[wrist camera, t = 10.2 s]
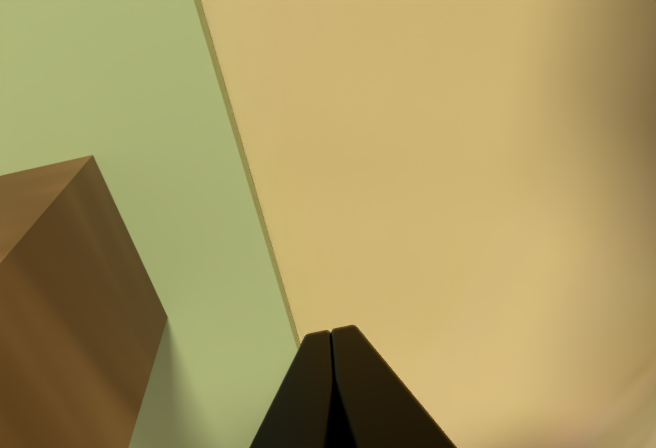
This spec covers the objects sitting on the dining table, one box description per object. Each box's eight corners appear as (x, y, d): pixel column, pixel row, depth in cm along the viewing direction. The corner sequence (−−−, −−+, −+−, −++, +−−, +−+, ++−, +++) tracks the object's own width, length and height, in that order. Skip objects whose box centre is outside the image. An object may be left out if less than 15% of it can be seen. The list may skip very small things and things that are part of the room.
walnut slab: (92, 154, 12) (-157, 446, 5) (168, 317, 15) (63, 661, 8) (-5, 176, 12) (-376, 491, 5) (85, 334, 15) (-90, 690, 8)
